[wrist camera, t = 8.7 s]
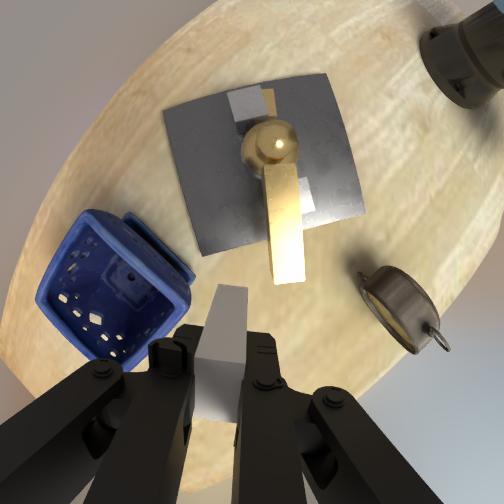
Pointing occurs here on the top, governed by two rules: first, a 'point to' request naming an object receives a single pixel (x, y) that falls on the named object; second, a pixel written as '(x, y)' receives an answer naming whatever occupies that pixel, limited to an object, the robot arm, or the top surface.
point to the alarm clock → (402, 308)
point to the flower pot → (114, 287)
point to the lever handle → (278, 190)
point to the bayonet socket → (247, 182)
